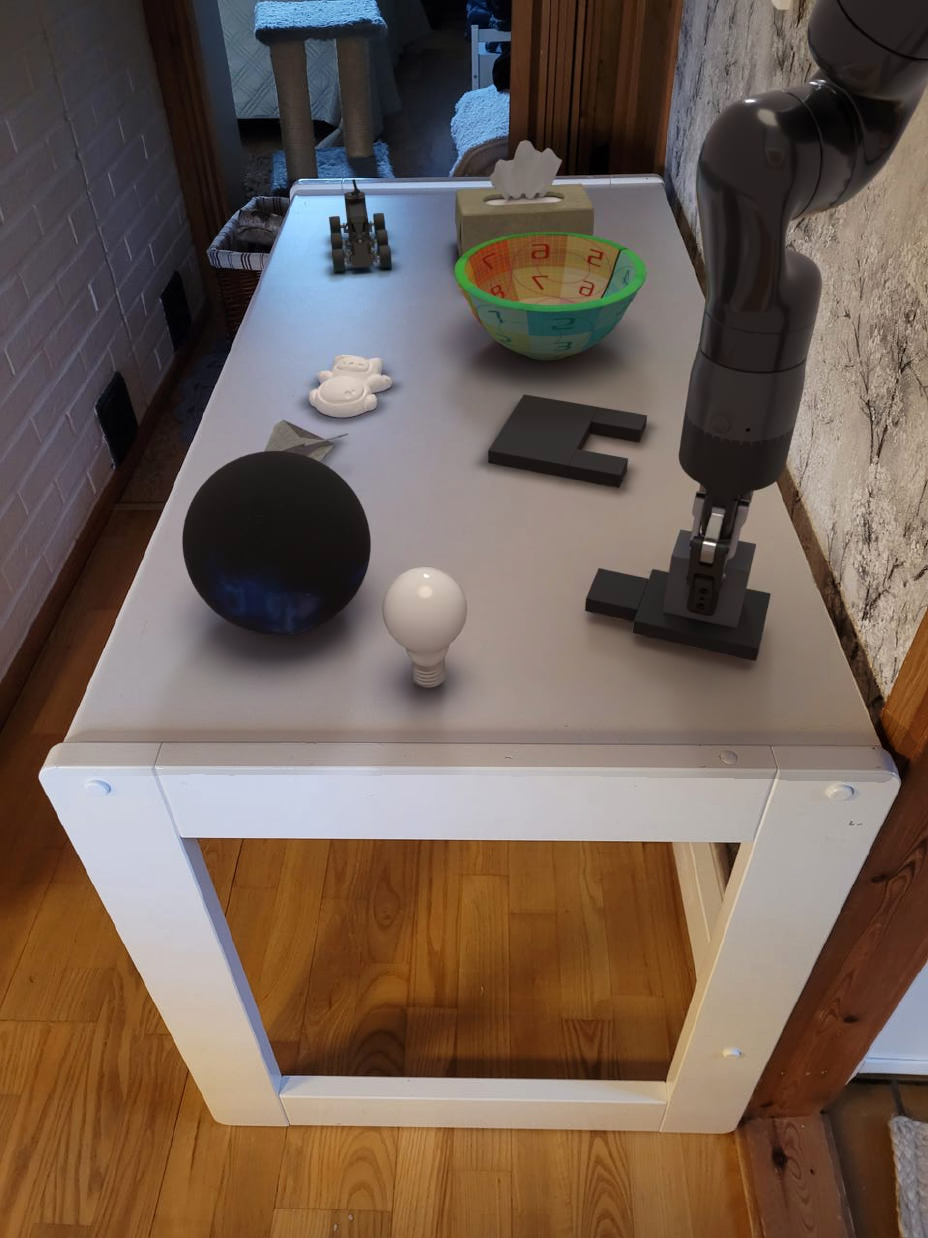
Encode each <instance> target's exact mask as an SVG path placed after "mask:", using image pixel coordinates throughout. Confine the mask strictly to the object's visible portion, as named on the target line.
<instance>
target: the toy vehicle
mask: <svg viewBox="0 0 928 1238" xmlns="http://www.w3.org/2000/svg"><path fill="white" fill-rule="evenodd" d="M352 185H353V190H352V191H347V192H345V193H344V194H343V198H344V206H345V216H346V217H345V218H346V223H345V222H342V224H341V217H340V215H334V216H328V221H329V230H330V245H331V259H332V265H333V271H334V273H341V272H346V265H347V266H350V265H351V267H352V269H353V268H366V267H367V268H368V267H374V266H375V265H374V263H375V264H378V260H379V266H380V267H379V268H380V269H390V268H392V267H393V264H392V262H393V261H392V252H391V245H389V236H388V235H389V234H388V231H387V230H388V229H386V219H385V213H384V212H374V213H373V214H372V219H373V222H372V221H371V220H369V217H368V215H369V214H368V210H367V201H366V195H365V194H366V193H365V192H364V191H361V190H360V189H359V188H358V186H357V183H356V178H354V179H352ZM342 229H343V233H342ZM373 229H374V230H373ZM373 231H374V235H375V236H374V235H372V236H371V234H372V233H373ZM344 233H346V234H344ZM344 235H348V238H347V237H345V238H344V241H343V236H344ZM375 238H376V239H375ZM376 248H377V250H373V249H376ZM344 249H345V251H350V252H349V253H348V252H346V253H344ZM345 256H346V258H345Z"/></svg>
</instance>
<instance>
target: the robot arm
mask: <svg viewBox="0 0 928 1238" xmlns="http://www.w3.org/2000/svg"><path fill="white" fill-rule="evenodd" d="M809 15H810V16H809V18H808V23H807V30H806V31H807V32H806V33H807V34H806V38H807V45H808V48H809V52H810V55H811V57H812V59H813V61H814V64H816V66H817V67H818V69H817V70H816V71H815V72H814V73H813V75H812V76H811V77H810V78H809V79H807V81H805V82H804V83H800V84H797V85H792V86H787V87H783V88H779V89H774V90H770V91H766V92H760V93H756V94H753V95H752V94H751V95H749V96H745V97H742V98H740V99H738V100H736V101H733V102H732V103H730V104H729V105H728V106H727V107H725V108H724V109H723V110H722V111H721V112H720V113H719V114H718V116H716V118H715V119H714V121H713V122H712V124H711V126H710V128H709V129H708V131H707V133H706V134H705V137H704V140H703V142H702V145H701V148H700V151H699V155H698V158H697V159H698V160H697V165H696V171H695V193H696V194H695V197H696V204H697V212H698V218H699V219H698V220H699V228H700V235H701V244H702V245H701V246H702V254H703V262H704V268H705V276H706V277H705V278H706V285H707V287H706V288H707V289H706V294H705V300H704V308H703V314H702V320H701V326H700V327H701V328H700V334H699V342H698V345H697V350H696V354H695V357H694V360H693V363H692V367H691V370H690V375H689V382H688V387H687V388H688V390H687V394H686V403H685V408H684V415H683V423H682V429H681V436H680V442H679V450H678V462H679V464H680V467H681V469H682V470H683V472H684V473H685V474H686V475H687V476H688V477H689V478H690V479H692V480H693V481H695V482H696V483H698V484H699V489H698V490H696V492H695V495H694V500H693V503H692V509H691V511H692V512H691V513H692V516H693V524H692V527H691V531H692V533H691V538H690V544H689V548H690V558H689V568H688V574H687V576H686V580H687V585H689V586H690V592H689V597H688V603H687V610H688V611H690V612H692V613H696V614H701V615H705V616H712V615H714V613H715V610H716V605H717V600H718V596H719V591H720V587H721V588H722V586H723V582H724V581H723V579H724V580H725V577H726V573H725V568H726V563H727V560H728V559H731V558H733V557H734V555H735V552H736V549H737V545H738V540H739V541H740V536H741V535H740V534H741V532H742V531H741V530H742V528H743V526H744V525H745V524H746V522H747V519H748V516H749V511H750V506H751V503H752V500H753V496H754V493H755V491H760V490H762V489H766V488H768V487H770V486H772V485H774V484H775V483H776V482H777V481H778V480H779V479H780V478H781V477H782V475H783V474H784V472H785V470H786V465H787V461H788V457H789V453H790V449H791V445H792V440H793V436H794V432H795V427H796V424H797V420H798V415H799V410H800V407H801V402H802V398H803V394H804V389H805V382H806V381H805V380H806V371H807V370H806V369H807V361H808V354H809V351H810V347H811V342H812V338H813V334H814V330H815V326H816V323H817V318H818V317H817V316H818V313H819V307H820V302H821V296H822V292H823V291H822V290H823V278H822V273H821V270H820V268H819V267H818V265H817V263H816V262H815V260H813V259H811V257H809V256H807V255H806V254H804V253H802V252H799V251H796V250H793V249H790V248H787V234H788V230H789V226H790V223H791V222H794V221H797V220H801V219H804V218H807V217H810V216H814V215H817V214H821V213H823V212H824V213H825V212H826V211H829V210H834V209H836V208H838V207H840V206H842V205H843V204H846V203H847V202H848V201H850V200H851V199H853V198H854V197H856V196H857V195H858V194H859V193H860V192H861V191H863V190H864V189H865V188H866V187H867V186H868V185H869V184H870V183H871V182H872V181H873V180H874V179H875V178H876V177H877V175H878V174H879V173H881V170H882V169H883V168H884V167H885V165H886V164H887V163H888V161H889V160H890V159H891V156H892V155H893V153H894V151H895V149H896V147H897V146H898V144H899V143H900V140H901V139H902V137H903V135H904V133H905V131H906V129H907V128H908V125H909V124H910V121H911V119H912V118H913V115H914V114H915V112H916V111H917V108H918V106H919V104H920V102H921V100H922V98H923V96H924V94H925V91H926V89H927V87H928V0H816V1H815V3H814V5H813V7H812V10H811V12H810V14H809ZM700 533H702V534H703V535H705V538H704V537H702V536H701V534H700ZM719 539H721V540H724V539H728V540H729V539H731V540H730V541H728V542H725V541H720V540H719Z"/></svg>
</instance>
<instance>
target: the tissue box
mask: <svg viewBox="0 0 928 1238" xmlns="http://www.w3.org/2000/svg"><path fill="white" fill-rule="evenodd" d="M562 162H563V159H561V158H559V157H557V155H556V154H555V152H554V151H553V150H552V149H551V148H550V147H547V148H546V149H544V150H543V151H538V150H537V149H535V147H534V145H533V143H532V142H531V141H529V140H527V139H525V140H522V141H519V144H518V145H517V148H516V150H515V153H514V157H513V159H510V160H505V159H501V158H500V159H499V160H498V161H496V162H495V166H494V171H493V172H492V173H491V174H490V176H489V179H490V180H489V181H490V183H491V186H492V187H487V188H486V187H485V188H468V189H467V188H466V189H456V191H455V205H454V206H455V207H454V209H455V210H454V224H455V228H456V246H457V251H458V256H459V259H460V258H461V257H462V255H463V254H464V253H466V252H467V251H469V250H470V249H472V248H474V247H476V246H478V245H480V244H482V243H484V242H487V241H490V240H493V239H497V238H500V237H504V236H510V235H515V234H523V233H533V232H565V233H575V234H583V235H588V236H594V227H595V225H594V223H595V222H594V221H595V207H594V205H593V203H592V201H591V199H590V197H589V195H588V193H587V191H586V188H585V187H584V185H583V184H582V183H564V184H562V183H561V184H553V183H554V180H555V179H556V176H557V173H558V171H559V169H560V167H561V164H562Z"/></svg>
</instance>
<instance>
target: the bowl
mask: <svg viewBox="0 0 928 1238" xmlns="http://www.w3.org/2000/svg"><path fill="white" fill-rule="evenodd" d="M647 274H648V273H647V267H646V265H645V263H644V261H643V260H642V259H641V257H639V255H637V254H636V253H635V252H634V251H632V250H630V249H629V248H627V247H626V246H623V245H621V244H619V243H617V242H614V241H611V240H609V239H605V238H601V237H597V236H594V235H592V236H588V235H583V234H575V233H565V232H533V233H523V234H515V235H510V236H504V237H500V238H497V239H493V240H490V241H487V242H484V243H482V244H480V245H478V246H476V247H474V248H472V249H470V250H469V251H467V252H466V253H464V254H463V255H462V257H461V258H460V257H459V259H457V262H456V263H455V265H454V270H453V275H454V279H455V281H456V283H457V285H458V286H459V288H461V292H462V295H463V297H464V298H465V300H466V301H467V302H468V305H469V308H470V309H471V312H472V314H473V315H474V317H475V319H476V320H477V322H478V323H479V324H480V326H481V328H482V329H484V330H485V332H487V334H488V335H489V336H490V337H492V338H493V339H494V340H495V341H496V342H498V343H499V344H500V345H502V346H503V347H505V348H507V349H509V350H510V351H512V352H515V353H517V354H519V355H522V356H525V357H527V358H530V359H533V360H538V361H557V360H561V359H565V358H568V357H570V356H572V355H576V354H579V353H582V352H584V351H586V350H589V349H590V348H591V347H593V346H595V345H597V344H598V343H599V342H601V341H603V339H604V338H605V337H607V336H608V335H609V334H610V333H611V332H612V331H613V330H614V329H615V328H616V326H617V325H618V324H619V323H620V321H621V320H622V319H623V317H624V316H625V314H626V312H627V310H628V308H629V306H630V305H631V303H632V302H634V300H635V298H636V297H637V294H638V292H639V290H640V289H642V287H643V285H644V283H645V282H646V278H647Z"/></svg>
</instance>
